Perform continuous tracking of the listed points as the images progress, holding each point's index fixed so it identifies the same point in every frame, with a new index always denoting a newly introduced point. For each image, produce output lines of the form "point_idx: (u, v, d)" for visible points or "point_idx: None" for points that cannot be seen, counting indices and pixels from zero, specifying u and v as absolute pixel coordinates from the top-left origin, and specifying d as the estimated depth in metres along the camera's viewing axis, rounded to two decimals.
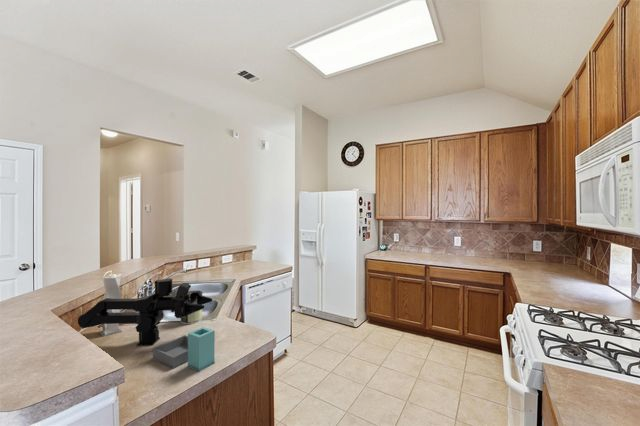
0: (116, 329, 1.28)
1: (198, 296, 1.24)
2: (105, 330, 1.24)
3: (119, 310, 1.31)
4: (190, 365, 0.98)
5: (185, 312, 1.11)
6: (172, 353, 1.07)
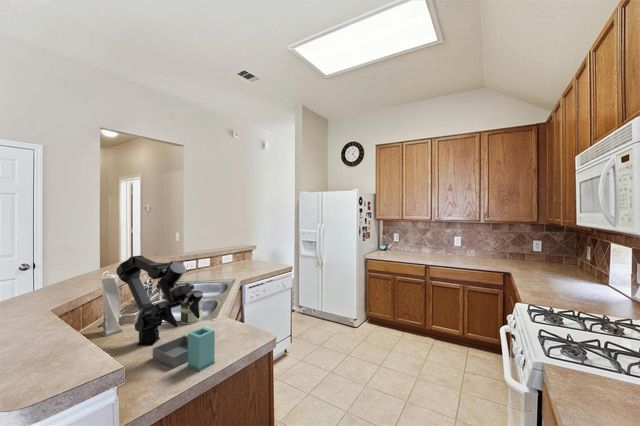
0: (117, 329, 1.28)
1: (194, 302, 1.11)
2: (106, 330, 1.24)
3: (118, 310, 1.30)
4: (190, 365, 0.98)
5: (160, 316, 1.01)
6: (172, 353, 1.07)
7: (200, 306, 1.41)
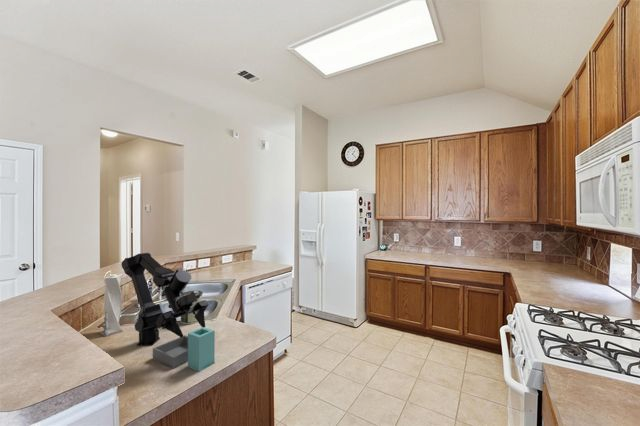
0: (117, 329, 1.28)
1: (199, 311, 1.09)
2: (107, 330, 1.24)
3: (119, 310, 1.31)
4: (190, 365, 0.98)
5: (165, 326, 0.99)
6: (172, 353, 1.07)
7: None
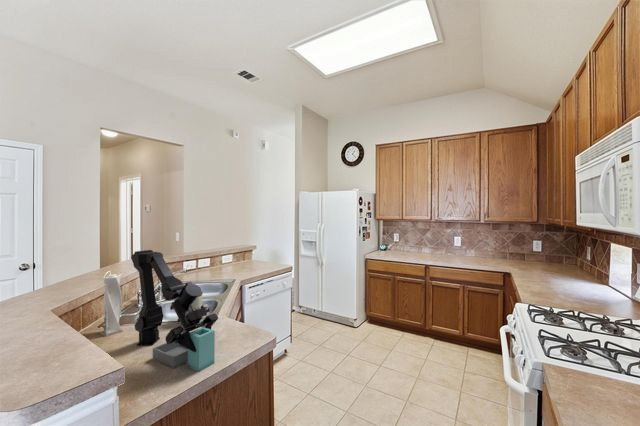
0: (117, 329, 1.28)
1: (206, 326, 1.05)
2: (106, 330, 1.24)
3: (119, 310, 1.31)
4: (190, 365, 0.98)
5: (178, 340, 0.97)
6: (172, 353, 1.07)
7: (200, 306, 1.41)
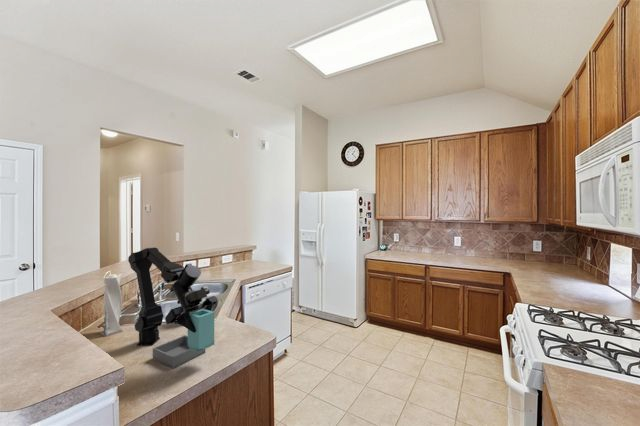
0: (117, 329, 1.28)
1: (206, 308, 1.05)
2: (106, 330, 1.24)
3: (119, 310, 1.31)
4: (190, 346, 0.98)
5: (178, 321, 0.97)
6: (172, 353, 1.07)
7: None
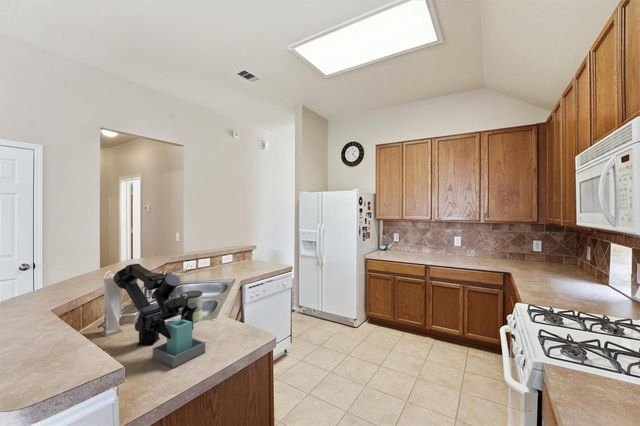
0: (117, 329, 1.28)
1: (188, 314, 1.12)
2: (106, 330, 1.24)
3: (119, 310, 1.31)
4: None
5: (154, 328, 1.02)
6: None
7: (200, 306, 1.41)
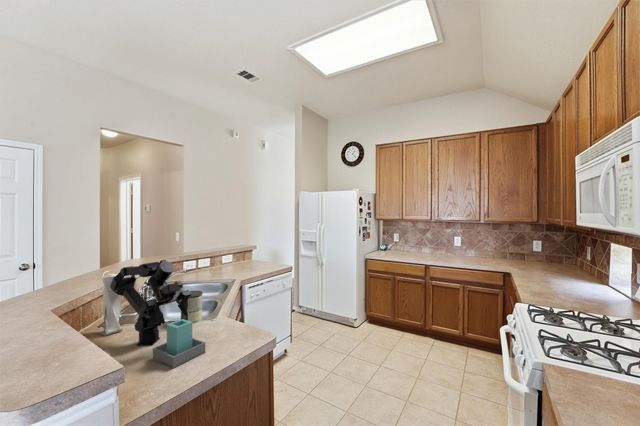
0: (117, 328, 1.29)
1: (182, 300, 1.14)
2: (106, 329, 1.24)
3: (119, 309, 1.31)
4: None
5: (149, 313, 1.05)
6: None
7: (200, 306, 1.41)
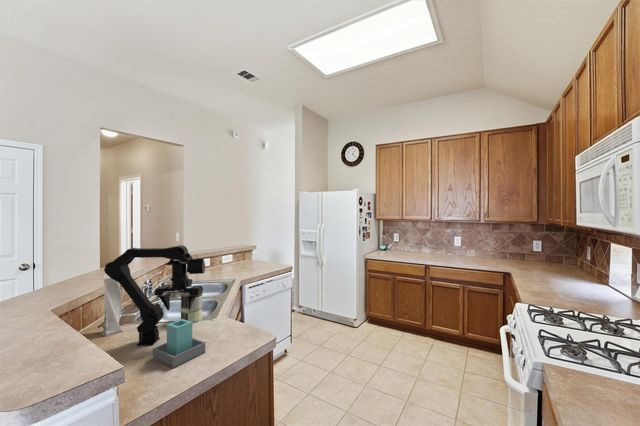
0: (117, 329, 1.28)
1: (169, 294, 1.22)
2: (106, 330, 1.24)
3: (119, 310, 1.31)
4: None
5: None
6: None
7: (200, 306, 1.41)
